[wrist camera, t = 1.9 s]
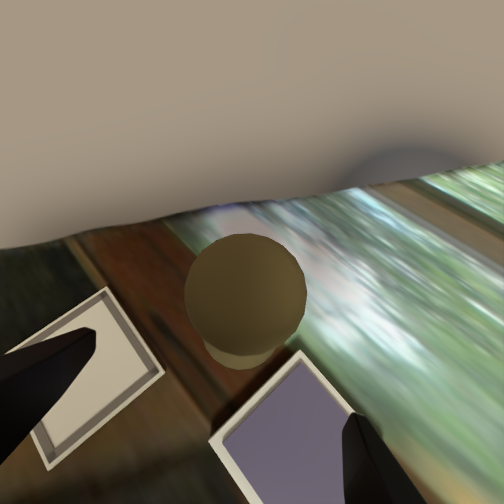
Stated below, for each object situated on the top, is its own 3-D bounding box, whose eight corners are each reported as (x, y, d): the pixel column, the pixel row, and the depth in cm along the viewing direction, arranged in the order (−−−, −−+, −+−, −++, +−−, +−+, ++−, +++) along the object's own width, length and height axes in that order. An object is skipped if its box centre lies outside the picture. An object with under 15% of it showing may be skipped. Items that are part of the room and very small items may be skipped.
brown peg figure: (195, 297, 20) (156, 225, 10) (268, 280, 21) (298, 200, 11) (208, 380, 18) (176, 390, 8) (291, 357, 19) (353, 341, 9)
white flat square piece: (51, 469, 16) (46, 471, 15) (-1, 359, 18) (-6, 359, 17) (165, 372, 18) (164, 372, 18) (108, 287, 20) (105, 285, 20)
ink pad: (297, 567, 14) (303, 584, 13) (209, 437, 17) (207, 442, 15) (383, 449, 17) (394, 455, 16) (297, 350, 19) (301, 348, 18)
